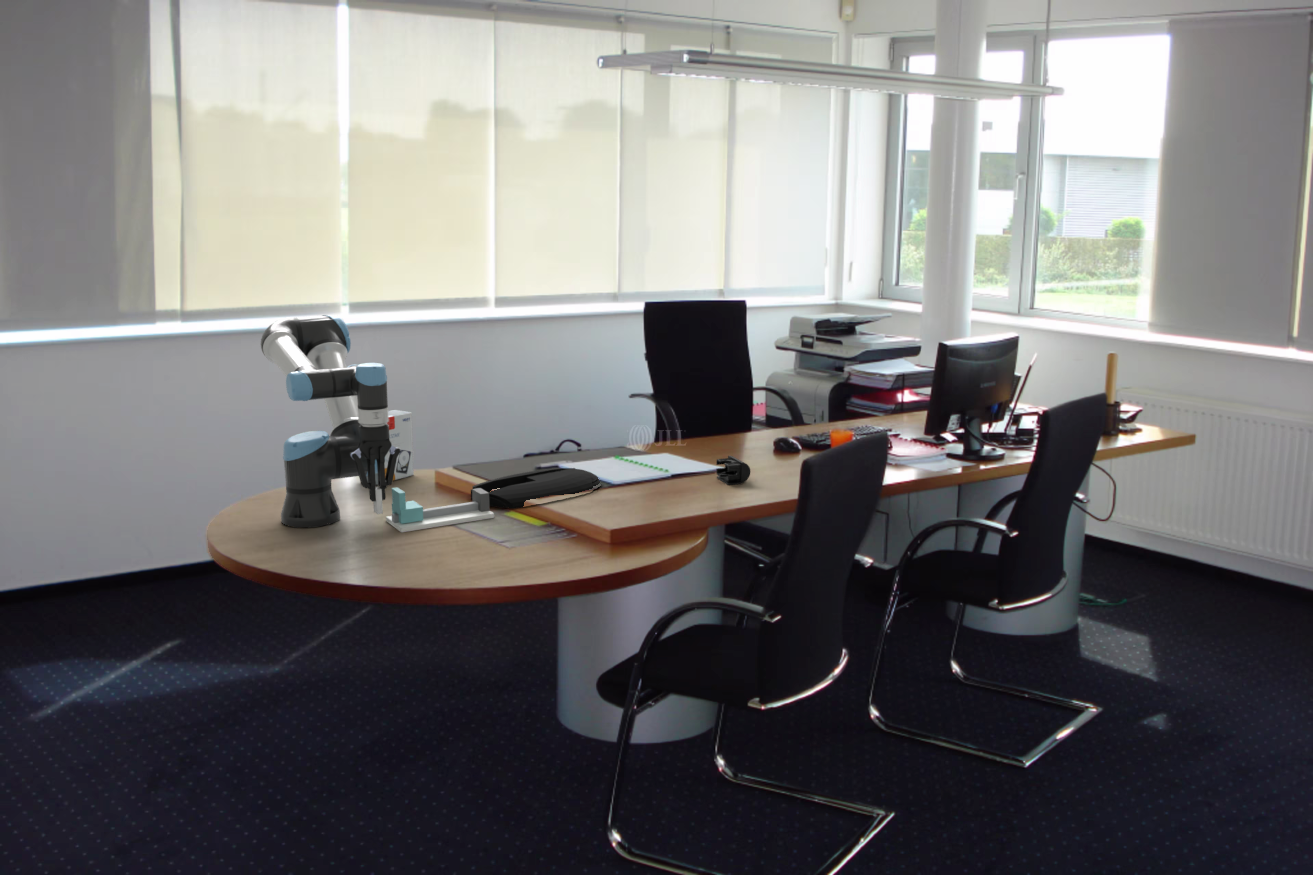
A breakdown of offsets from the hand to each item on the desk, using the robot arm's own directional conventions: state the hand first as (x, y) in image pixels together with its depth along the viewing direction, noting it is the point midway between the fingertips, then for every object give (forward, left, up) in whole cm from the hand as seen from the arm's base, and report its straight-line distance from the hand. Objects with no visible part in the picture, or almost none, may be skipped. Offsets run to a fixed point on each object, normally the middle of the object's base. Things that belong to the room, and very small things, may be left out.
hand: (378, 512), depth 309 cm
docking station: (+52, +13, -5) cm, 54 cm away
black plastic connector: (+108, -6, -5) cm, 108 cm away
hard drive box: (+19, +49, -5) cm, 53 cm away
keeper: (+8, 0, -3) cm, 8 cm away
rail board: (+17, 0, -4) cm, 17 cm away
